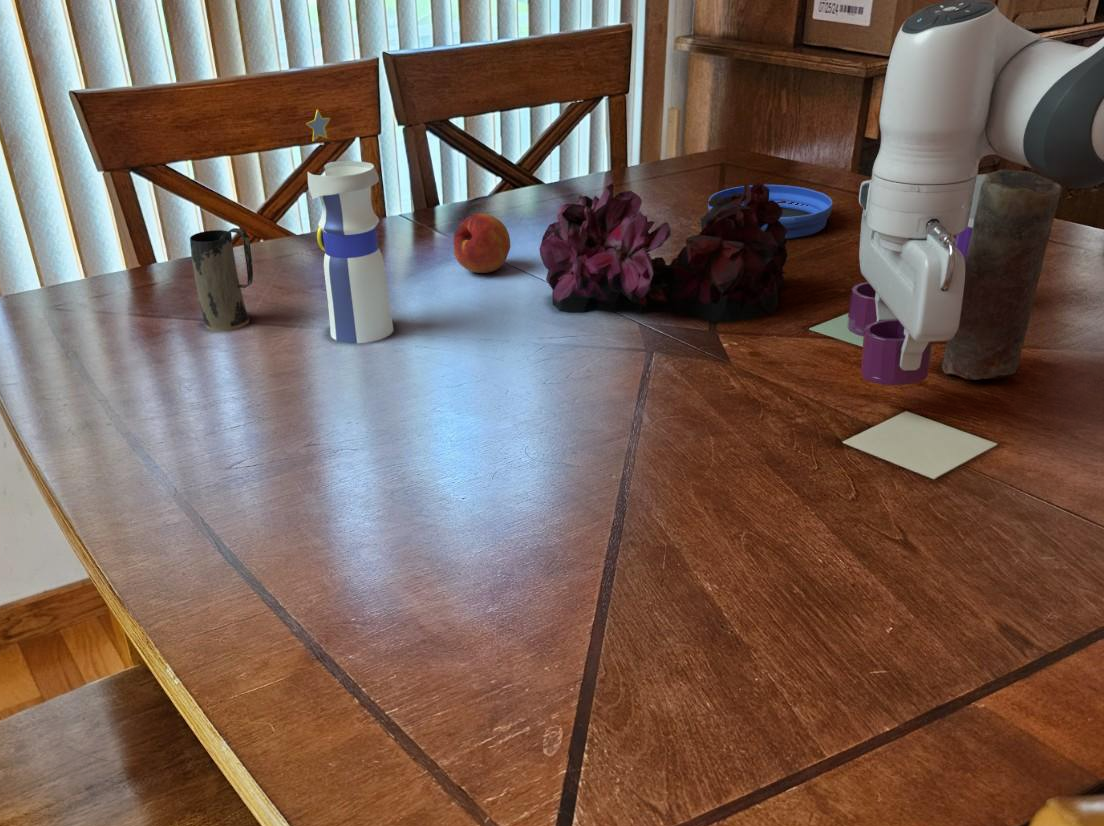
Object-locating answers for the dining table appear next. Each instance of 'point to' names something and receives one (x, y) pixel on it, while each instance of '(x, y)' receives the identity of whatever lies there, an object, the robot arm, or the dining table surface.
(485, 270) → the fruit
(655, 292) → the flower arrangement
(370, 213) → the water bottle
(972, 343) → the grey stone cylinder
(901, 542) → the dining table surface
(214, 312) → the mug
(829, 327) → the pad far
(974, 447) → the pad near
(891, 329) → the dish
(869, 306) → the dish
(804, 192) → the bowl
